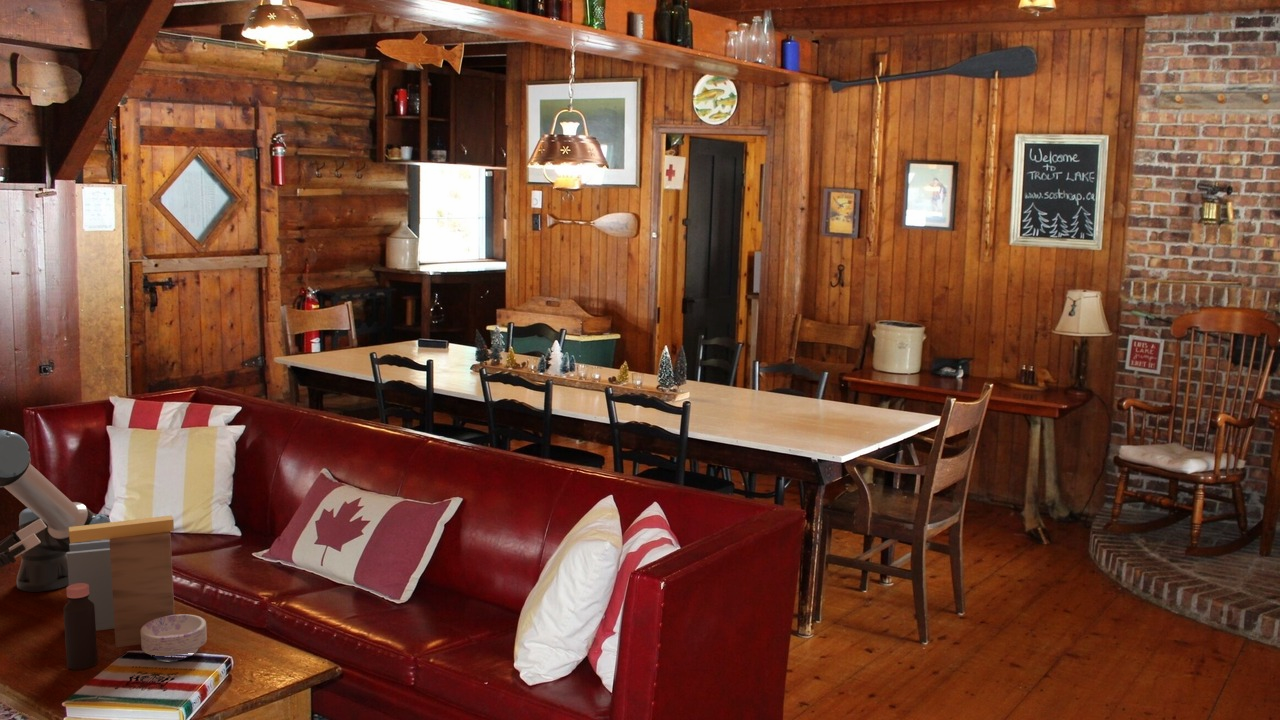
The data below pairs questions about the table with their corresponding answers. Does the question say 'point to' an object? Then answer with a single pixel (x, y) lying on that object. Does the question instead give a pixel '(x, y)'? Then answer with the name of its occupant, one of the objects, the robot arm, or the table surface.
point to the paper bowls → (173, 635)
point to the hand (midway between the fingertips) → (40, 530)
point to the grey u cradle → (94, 577)
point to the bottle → (80, 628)
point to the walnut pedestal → (140, 583)
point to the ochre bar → (121, 529)
